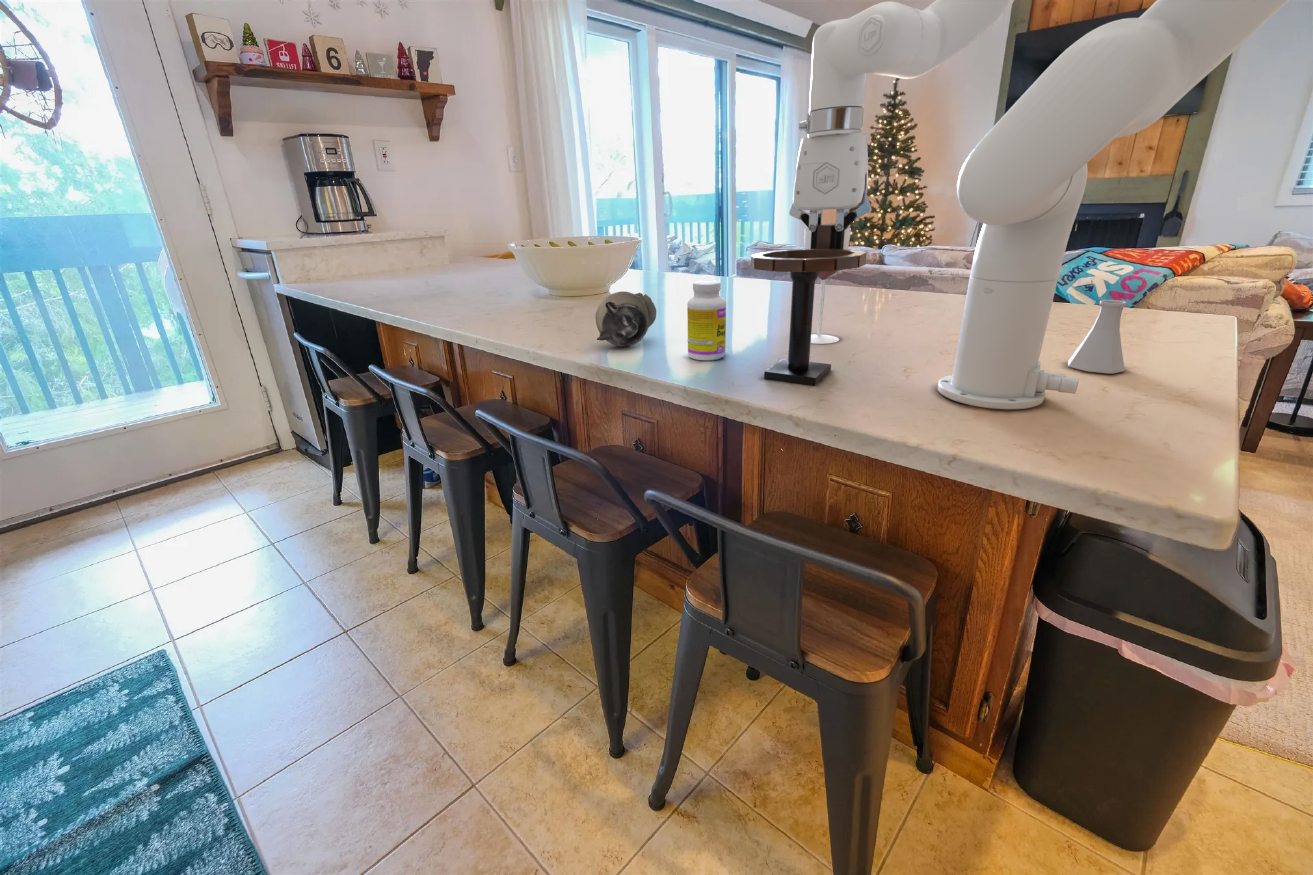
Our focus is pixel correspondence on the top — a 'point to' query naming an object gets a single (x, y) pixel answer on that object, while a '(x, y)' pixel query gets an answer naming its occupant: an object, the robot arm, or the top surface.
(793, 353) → the towel holder
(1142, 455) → the top surface
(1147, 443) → the top surface
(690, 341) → the supplement bottle
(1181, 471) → the top surface
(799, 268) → the walnut ring
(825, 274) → the wineglass
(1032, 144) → the robot arm
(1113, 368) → the flask
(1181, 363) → the top surface
